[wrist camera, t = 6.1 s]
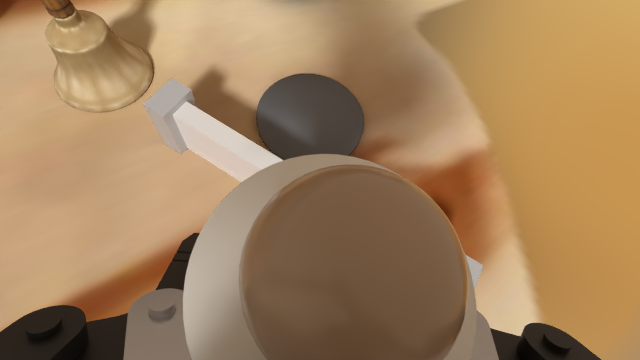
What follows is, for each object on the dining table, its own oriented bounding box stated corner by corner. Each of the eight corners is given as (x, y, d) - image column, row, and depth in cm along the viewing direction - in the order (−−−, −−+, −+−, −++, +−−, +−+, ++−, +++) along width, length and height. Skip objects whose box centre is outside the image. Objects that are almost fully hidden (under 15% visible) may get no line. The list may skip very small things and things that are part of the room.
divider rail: (165, 144, 30) (142, 104, 25) (188, 120, 31) (172, 77, 26) (431, 312, 27) (468, 306, 22) (445, 278, 28) (483, 265, 23)
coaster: (234, 130, 31) (233, 126, 31) (294, 62, 35) (295, 58, 35) (329, 188, 30) (330, 185, 29) (380, 110, 34) (382, 107, 34)
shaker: (214, 336, 15) (-24, 337, 3) (278, 244, 17) (308, 3, 5) (308, 402, 14) (545, 777, 2) (362, 299, 16) (643, 191, 4)
